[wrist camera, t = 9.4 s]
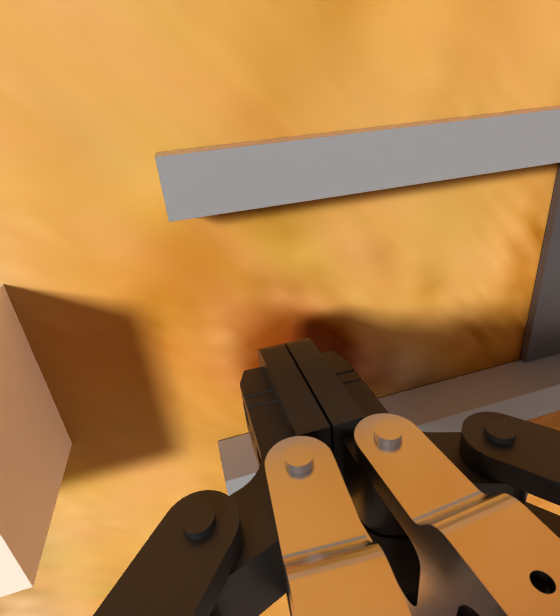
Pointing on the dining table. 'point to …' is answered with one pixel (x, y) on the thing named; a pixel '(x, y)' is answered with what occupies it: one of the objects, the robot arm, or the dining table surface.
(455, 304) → the dining table surface
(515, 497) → the robot arm
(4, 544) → the block
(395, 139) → the channel
